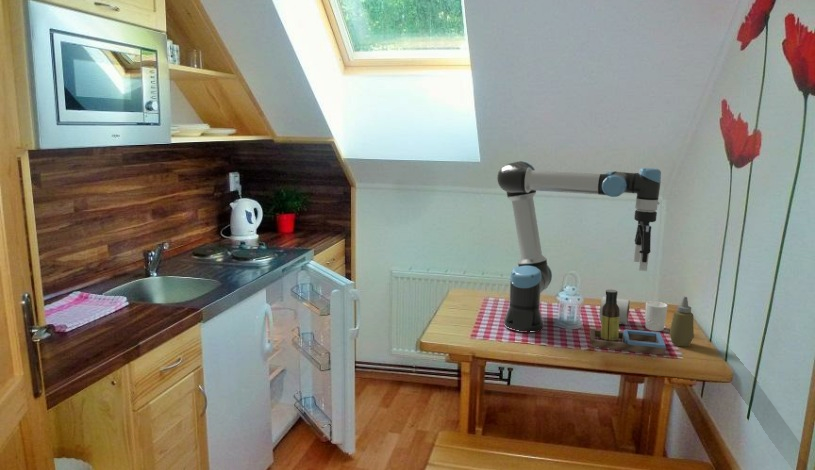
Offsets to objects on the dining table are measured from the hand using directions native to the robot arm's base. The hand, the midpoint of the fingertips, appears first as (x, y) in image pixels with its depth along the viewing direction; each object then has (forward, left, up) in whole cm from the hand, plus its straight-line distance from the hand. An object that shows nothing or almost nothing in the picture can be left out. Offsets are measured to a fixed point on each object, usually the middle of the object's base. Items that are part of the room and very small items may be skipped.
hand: (639, 266), depth 221 cm
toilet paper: (-7, +11, -27) cm, 30 cm away
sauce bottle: (-10, -13, -27) cm, 32 cm away
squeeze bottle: (+15, -7, -27) cm, 32 cm away
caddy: (-4, -13, -27) cm, 30 cm away
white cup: (+8, +8, -27) cm, 29 cm away
